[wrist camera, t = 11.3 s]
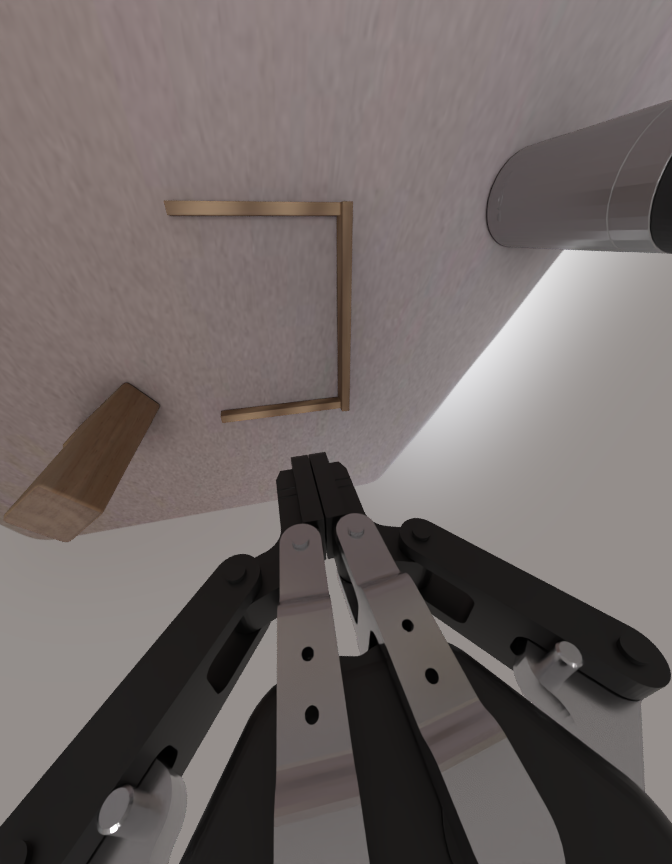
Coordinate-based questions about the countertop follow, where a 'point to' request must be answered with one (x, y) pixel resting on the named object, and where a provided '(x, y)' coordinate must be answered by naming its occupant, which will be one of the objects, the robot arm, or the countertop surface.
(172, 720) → the robot arm
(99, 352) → the countertop surface
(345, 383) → the frame
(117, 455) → the wooden block
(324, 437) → the countertop surface
